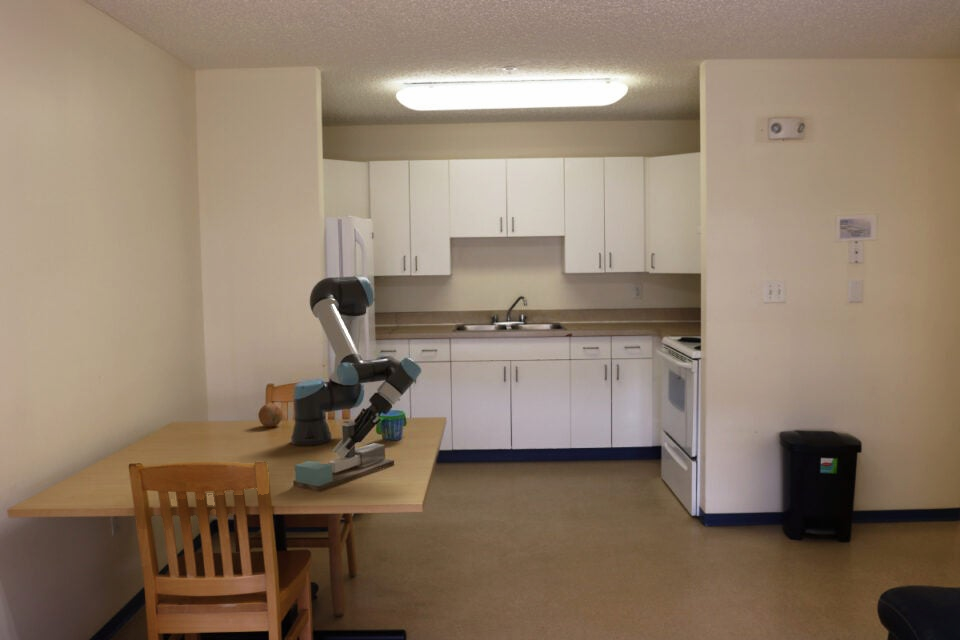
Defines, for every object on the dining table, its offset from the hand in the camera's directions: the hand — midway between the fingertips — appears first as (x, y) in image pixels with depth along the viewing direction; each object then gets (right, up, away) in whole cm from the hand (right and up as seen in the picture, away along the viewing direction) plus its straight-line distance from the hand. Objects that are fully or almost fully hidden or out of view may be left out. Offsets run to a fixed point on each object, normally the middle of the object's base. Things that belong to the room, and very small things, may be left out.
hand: (337, 454), depth 250 cm
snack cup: (+12, -2, +48) cm, 49 cm away
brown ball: (-42, -2, +75) cm, 86 cm away
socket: (-5, -6, -11) cm, 14 cm away
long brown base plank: (+3, -7, +1) cm, 7 cm away
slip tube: (+5, -4, +4) cm, 8 cm away
